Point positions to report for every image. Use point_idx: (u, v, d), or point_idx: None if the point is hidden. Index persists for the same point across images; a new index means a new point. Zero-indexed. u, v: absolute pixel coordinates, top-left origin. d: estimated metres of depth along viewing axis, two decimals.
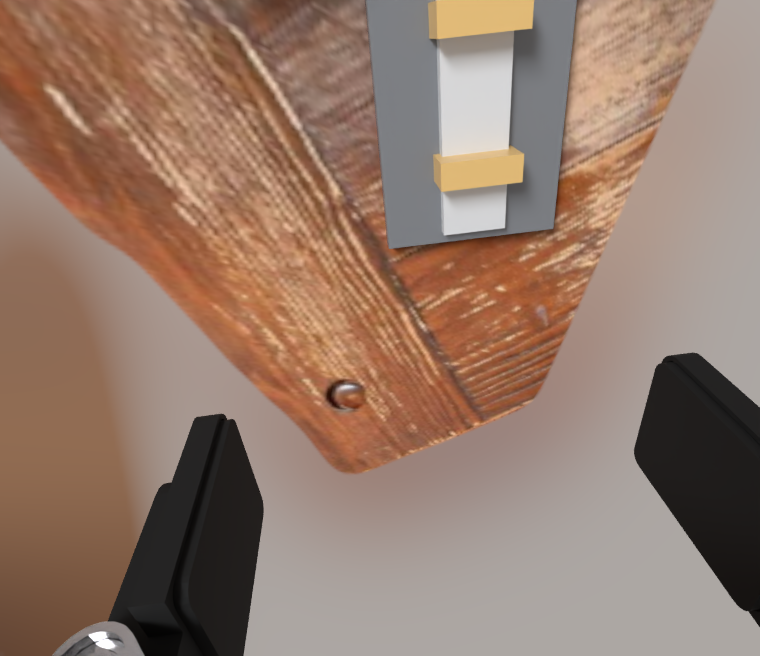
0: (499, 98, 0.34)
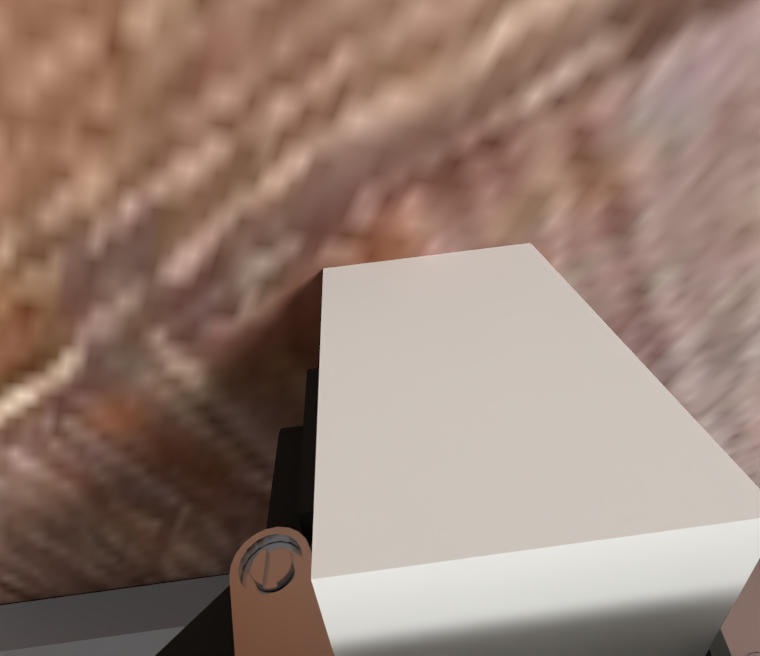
0: None
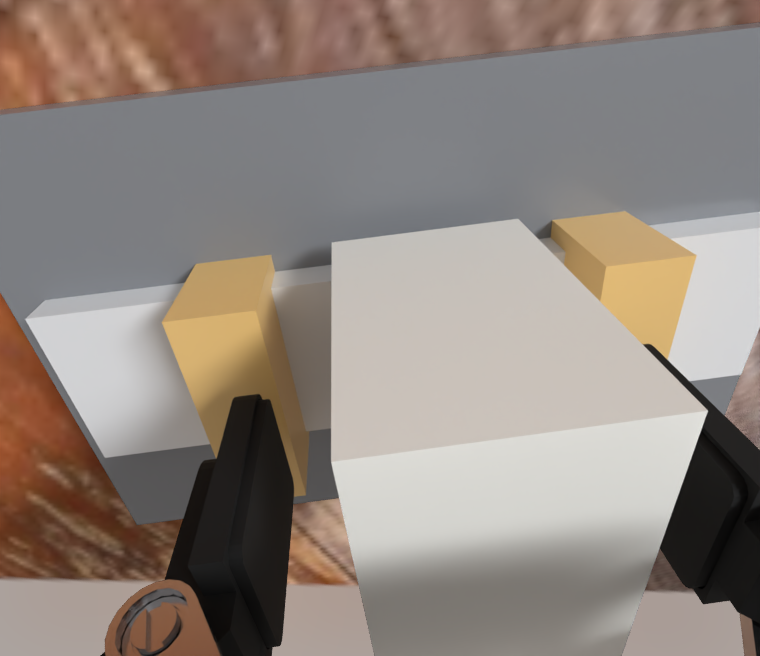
0: None
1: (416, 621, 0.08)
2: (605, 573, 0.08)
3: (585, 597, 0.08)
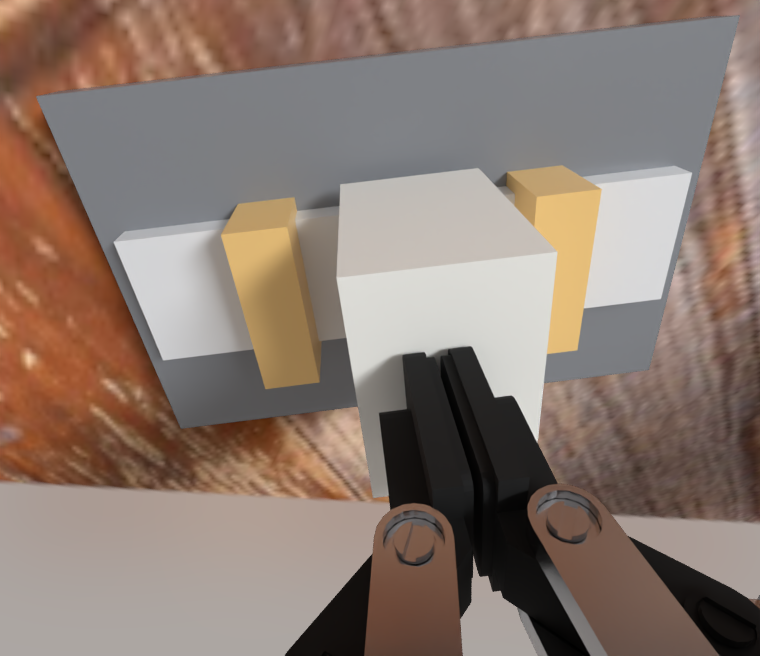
0: None
1: None
2: (513, 380, 0.12)
3: None
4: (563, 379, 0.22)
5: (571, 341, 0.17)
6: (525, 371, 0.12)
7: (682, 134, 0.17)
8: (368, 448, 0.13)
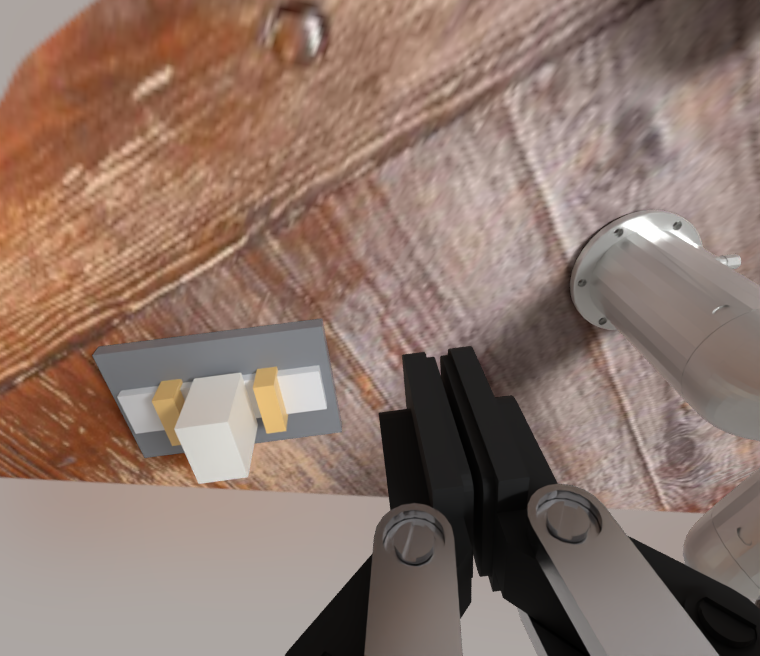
0: None
1: (197, 459, 0.43)
2: (229, 450, 0.43)
3: (228, 455, 0.43)
4: (305, 436, 0.54)
5: (282, 428, 0.48)
6: (231, 447, 0.43)
7: (317, 356, 0.48)
8: (193, 469, 0.44)
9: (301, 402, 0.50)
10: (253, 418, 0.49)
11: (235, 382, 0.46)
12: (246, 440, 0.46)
